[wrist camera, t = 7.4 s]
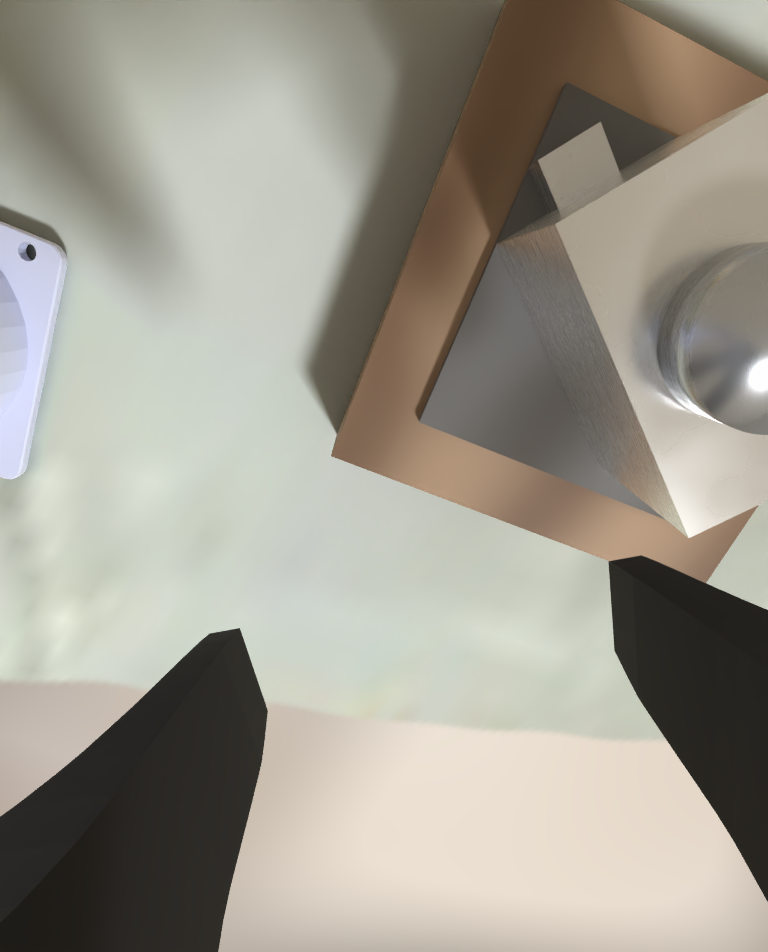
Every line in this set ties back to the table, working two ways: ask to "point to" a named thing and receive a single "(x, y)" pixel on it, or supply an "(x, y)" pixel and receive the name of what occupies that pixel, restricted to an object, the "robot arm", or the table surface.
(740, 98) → the stand
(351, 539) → the table surface
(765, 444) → the housing
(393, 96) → the table surface
